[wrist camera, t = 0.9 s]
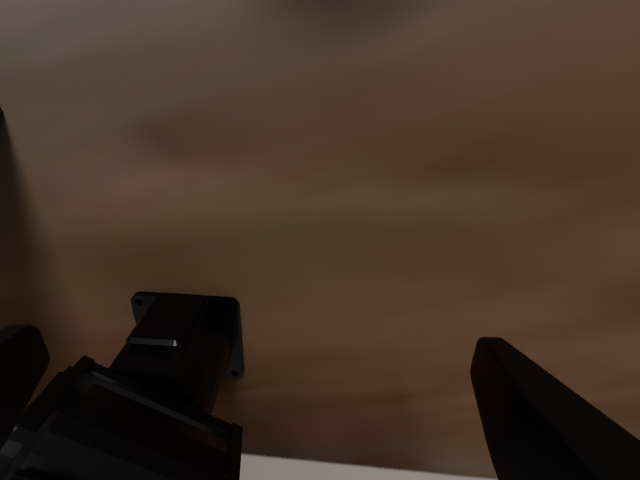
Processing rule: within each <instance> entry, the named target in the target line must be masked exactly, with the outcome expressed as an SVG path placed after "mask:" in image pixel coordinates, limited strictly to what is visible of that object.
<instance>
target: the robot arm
mask: <svg viewBox="0 0 640 480" xmlns="http://www.w3.org/2000/svg"><path fill="white" fill-rule="evenodd" d="M139 299H141V300H142V301H143V302H142V301H140V300H139ZM131 304H132V309H133V313H134V317H135V321H136V326H135V328H134V329H133V330H132V332H131V333H130V335H129V336H128V337H127V339H126V344H125V345H124V347H123V348H122V350H121V351H120V352H119V354H118V355H117V357H116V358H115V360H114V361H113V362H112V364H111V365H110V367H109V368H106V367H104V366H102V365H100V364H97V363H95V362H94V361H95V360H94V359H91V358H89V357H87V356H85V355H84V356H83V357H82V358H81V359H80V360H79V361H78V362H77V363H76V364H75V365H74V366H73V367H72V366H69V367H68V368H67V369H66V370H65V371H64V372H58V373H57V375H56V376H55V377H54V378H53V379H52V381H51V382H50V383H49V384H48V385H47V386H46V388H45V389H44V390H43V391H42V392H41V393H40V394H39V396H38V397H37V398H36V399H35V400H34V401H33V402H32V403H31V404H29V405H28V406H27V407H26V405H27V404H28V402H29V400H30V398H31V396H32V394H33V393H34V391H35V389H36V387H37V385H38V383H39V382H40V380H41V378H42V376H43V374H44V373H45V371H46V369H47V367H48V364H49V359H50V357H49V352H48V350H47V348H46V345H45V343H44V341H43V338H42V336H41V333H40V331H39V329H38V328H37V327H36V326H34V325H23V324H15V325H10V326H8V327H5V328H3V329H1V330H0V480H239V477H240V462H241V448H242V433H243V427H241V426H239V425H237V424H235V423H233V424H230V423H228V422H226V421H223V420H221V419H219V418H217V417H215V416H212V415H211V413H212V410H213V407H214V404H215V402H216V399H217V396H218V393H219V390H220V387H221V384H222V381H223V378H233V379H237V378H240V377H241V376H242V373H243V356H242V342H241V328H240V313H239V303H238V301H237V300H236V299H235V298H232V297H221V296H204V295H192V294H176V293H156V292H137V293H135V294H134V295H133V297H132V298H131ZM228 304H229V305H232V306H233V307H229V306H228ZM236 371H237V372H236ZM470 375H471V381H472V385H473V389H474V393H475V397H476V401H477V406H478V410H479V414H480V418H481V422H482V426H483V430H484V434H485V438H486V442H487V446H488V450H489V453H490V457H491V460H492V463H493V466H494V469H495V472H496V474H497V477H498V480H640V440H638V439H637V438H636V437H634V436H633V435H632V434H630V433H629V432H628V431H626V430H625V429H624V428H622V427H621V426H620V425H618V424H617V423H616V422H614V421H613V420H612V419H610V418H609V417H607V416H606V415H605V414H603V413H602V412H601V411H599V410H598V409H597V408H595V407H594V406H593V405H591V404H590V403H589V402H587V401H586V400H585V399H583V398H582V397H581V396H579V395H578V394H577V393H575V392H574V391H573V390H571V389H570V388H568V387H567V386H566V385H564V384H563V383H562V382H560V381H559V380H558V379H556V378H555V377H554V376H552V375H551V374H550V373H548V372H547V371H546V370H544V369H543V368H542V367H540V366H539V365H538V364H536V363H535V362H534V361H532V360H531V359H529V358H528V357H527V356H525V355H524V354H523V353H521V352H520V351H519V350H517V349H516V348H515V347H513V346H512V345H511V344H509V343H508V342H507V341H505V340H504V339H502V338H499V337H481V338H479V339H478V341H477V344H476V348H475V352H474V356H473V360H472V364H471V369H470ZM25 407H26V408H25Z"/></svg>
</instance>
